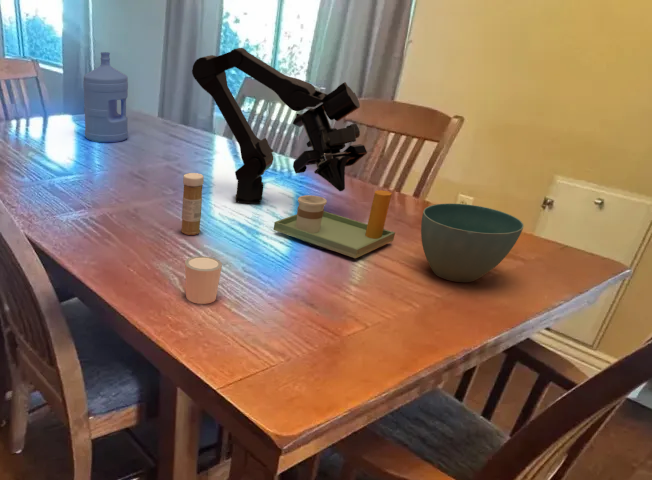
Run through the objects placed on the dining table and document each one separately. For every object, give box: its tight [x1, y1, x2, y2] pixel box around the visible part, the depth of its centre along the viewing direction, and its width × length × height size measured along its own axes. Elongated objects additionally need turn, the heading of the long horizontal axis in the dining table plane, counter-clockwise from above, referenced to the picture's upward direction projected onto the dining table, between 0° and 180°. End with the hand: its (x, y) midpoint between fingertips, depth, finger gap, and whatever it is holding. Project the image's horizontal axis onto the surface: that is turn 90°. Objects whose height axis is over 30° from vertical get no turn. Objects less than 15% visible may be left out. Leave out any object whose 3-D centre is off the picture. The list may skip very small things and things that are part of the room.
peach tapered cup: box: [184, 255, 223, 305], centre depth 114 cm, size 7×7×7 cm
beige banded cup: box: [295, 194, 328, 233], centre depth 141 cm, size 6×6×7 cm
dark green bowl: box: [420, 202, 525, 283], centre depth 124 cm, size 18×18×12 cm
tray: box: [273, 189, 396, 259], centre depth 139 cm, size 22×16×11 cm
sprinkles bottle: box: [180, 172, 205, 236], centre depth 141 cm, size 5×5×14 cm
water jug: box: [82, 51, 129, 143], centre depth 216 cm, size 16×16×28 cm
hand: (342, 190), depth 146 cm, fingers closed
